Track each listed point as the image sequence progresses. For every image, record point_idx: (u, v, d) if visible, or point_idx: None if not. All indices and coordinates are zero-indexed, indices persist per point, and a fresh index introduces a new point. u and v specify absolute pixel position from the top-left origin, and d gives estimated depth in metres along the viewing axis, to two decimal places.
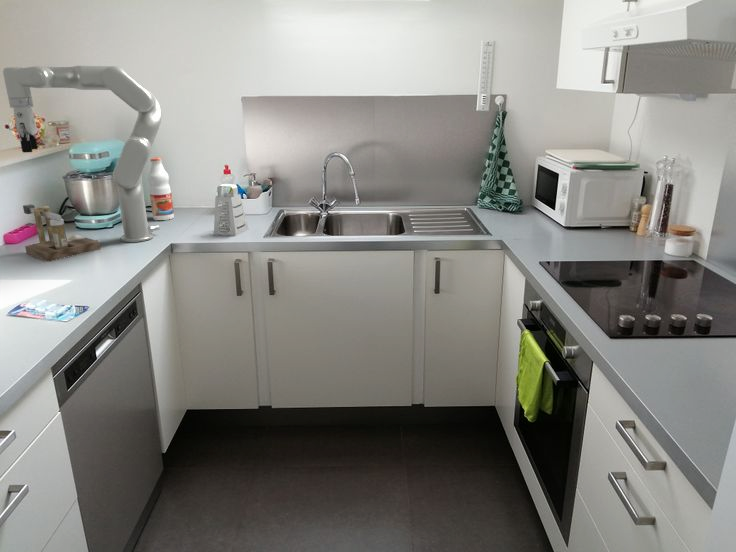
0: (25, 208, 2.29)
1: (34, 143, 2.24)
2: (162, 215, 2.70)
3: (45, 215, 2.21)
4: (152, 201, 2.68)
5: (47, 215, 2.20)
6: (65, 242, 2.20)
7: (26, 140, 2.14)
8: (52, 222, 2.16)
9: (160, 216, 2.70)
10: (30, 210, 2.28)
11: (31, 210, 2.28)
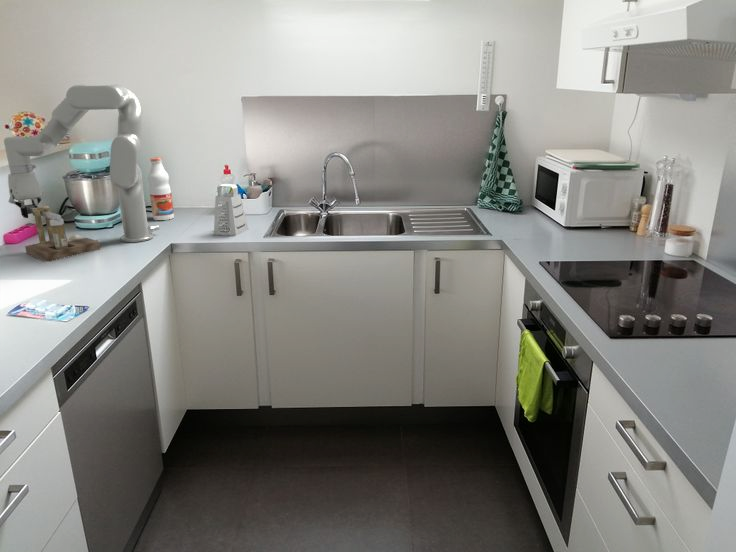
0: None
1: None
2: (162, 215, 2.70)
3: (45, 215, 2.21)
4: (152, 201, 2.68)
5: (47, 215, 2.20)
6: (65, 242, 2.20)
7: None
8: (52, 222, 2.16)
9: (160, 216, 2.70)
10: (30, 210, 2.28)
11: (31, 210, 2.28)
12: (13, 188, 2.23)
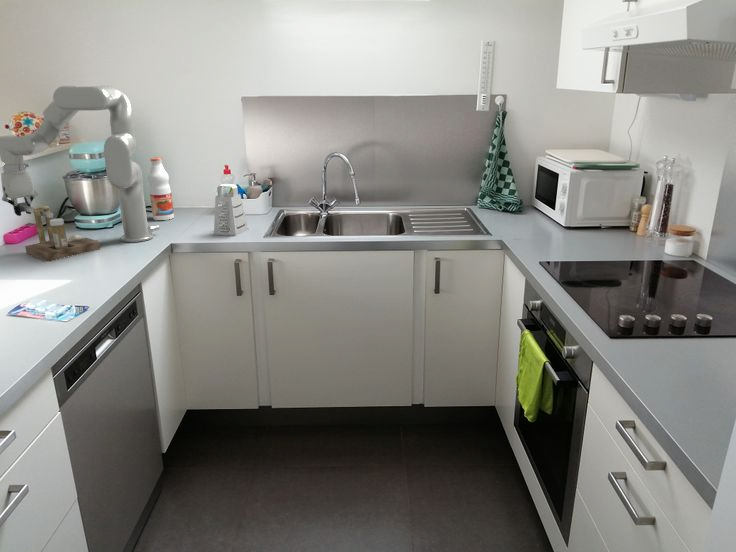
0: None
1: None
2: (162, 215, 2.70)
3: None
4: (152, 201, 2.68)
5: None
6: (65, 242, 2.20)
7: None
8: (52, 222, 2.16)
9: (160, 216, 2.70)
10: (23, 208, 2.32)
11: (24, 208, 2.31)
12: (6, 186, 2.27)
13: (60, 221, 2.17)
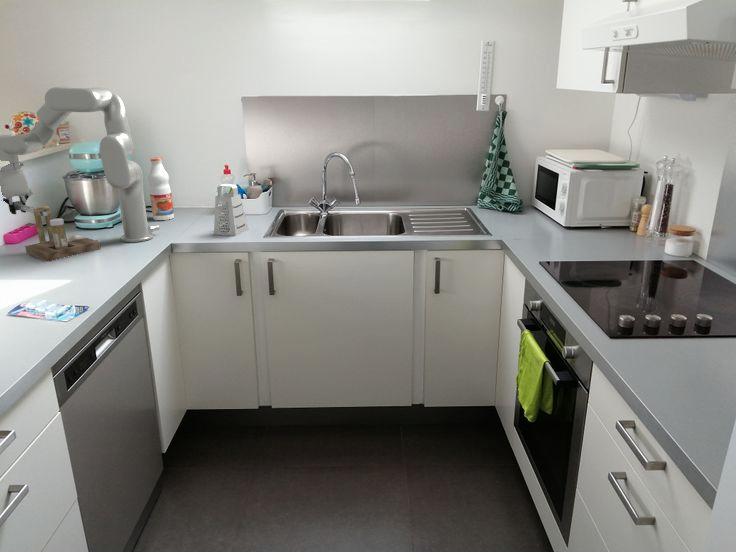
0: None
1: None
2: (162, 215, 2.70)
3: (32, 211, 2.27)
4: (152, 201, 2.68)
5: None
6: (65, 242, 2.20)
7: None
8: (52, 222, 2.16)
9: (160, 216, 2.70)
10: (18, 206, 2.35)
11: (19, 206, 2.34)
12: (1, 185, 2.29)
13: (60, 221, 2.17)
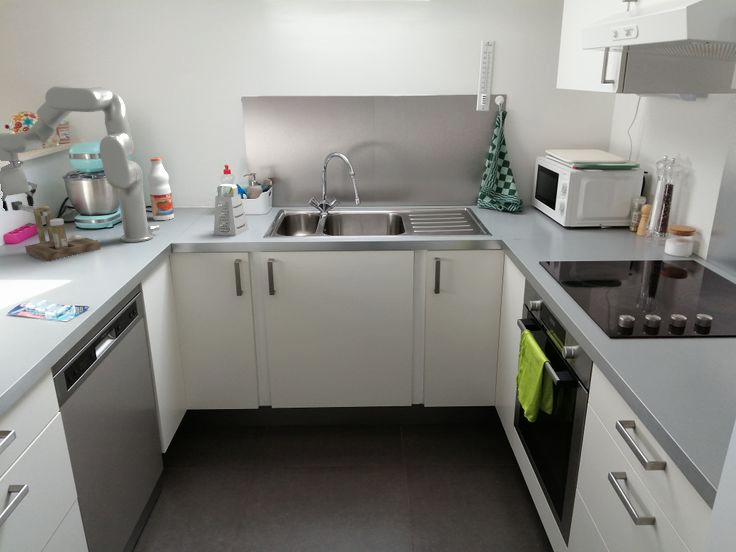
0: (13, 205, 2.35)
1: None
2: (162, 215, 2.70)
3: (32, 211, 2.27)
4: (152, 201, 2.68)
5: None
6: (65, 242, 2.20)
7: None
8: (52, 222, 2.16)
9: (160, 216, 2.70)
10: (18, 206, 2.35)
11: (19, 206, 2.34)
12: (1, 183, 2.29)
13: (60, 221, 2.17)
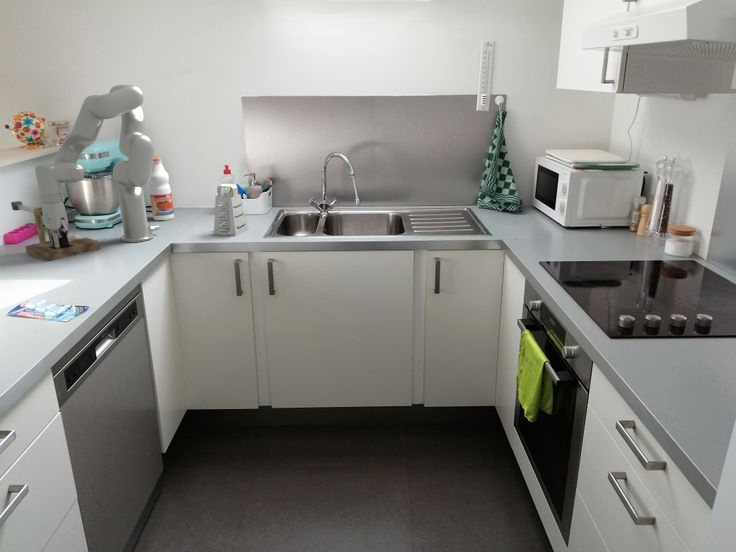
0: (13, 205, 2.35)
1: None
2: (162, 215, 2.70)
3: (32, 211, 2.27)
4: (152, 201, 2.68)
5: None
6: None
7: None
8: None
9: (160, 216, 2.70)
10: (18, 206, 2.35)
11: (19, 206, 2.34)
12: (66, 216, 2.16)
13: None
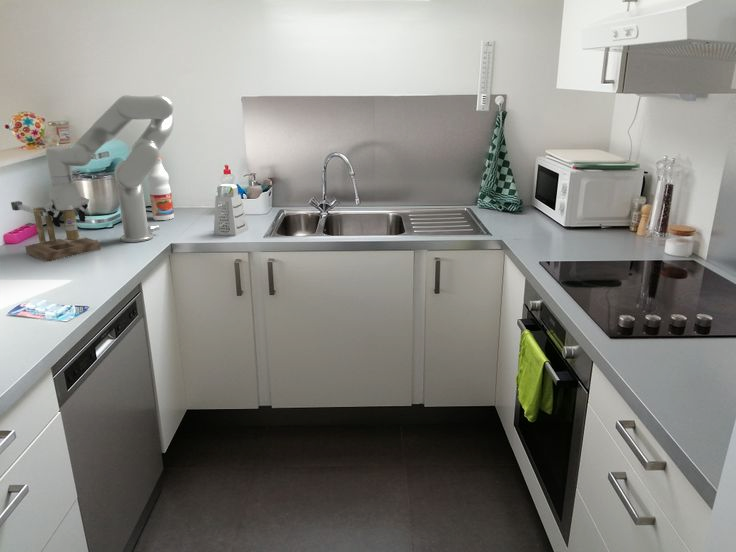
0: (13, 205, 2.35)
1: None
2: (162, 215, 2.70)
3: (32, 211, 2.27)
4: (152, 201, 2.68)
5: None
6: (66, 227, 2.28)
7: None
8: None
9: (160, 216, 2.70)
10: (18, 206, 2.35)
11: (19, 206, 2.34)
12: (54, 199, 2.22)
13: None
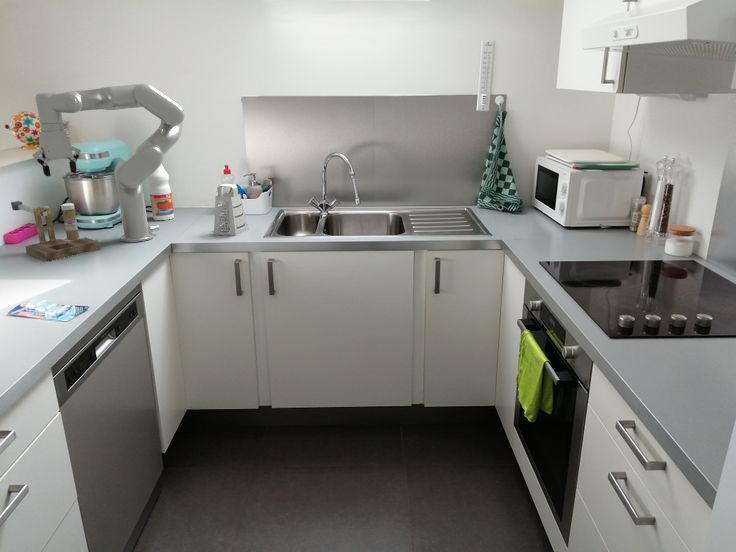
0: (13, 205, 2.35)
1: None
2: (162, 215, 2.70)
3: (32, 211, 2.27)
4: (152, 201, 2.68)
5: None
6: (67, 227, 2.28)
7: None
8: None
9: (160, 216, 2.70)
10: (18, 206, 2.35)
11: (19, 206, 2.34)
12: (44, 146, 2.15)
13: (62, 206, 2.26)
